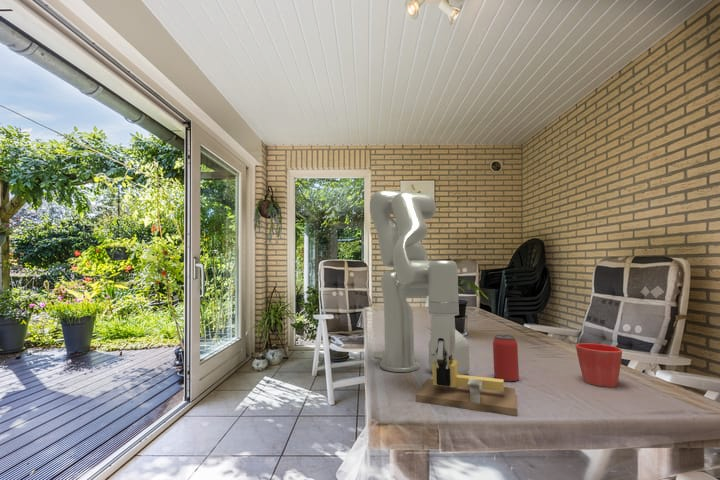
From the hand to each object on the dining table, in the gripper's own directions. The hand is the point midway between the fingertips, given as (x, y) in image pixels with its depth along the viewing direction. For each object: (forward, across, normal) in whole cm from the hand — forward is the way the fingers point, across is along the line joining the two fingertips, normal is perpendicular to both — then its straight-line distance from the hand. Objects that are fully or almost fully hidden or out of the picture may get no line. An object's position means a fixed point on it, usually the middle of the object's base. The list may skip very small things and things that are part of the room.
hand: (445, 380), depth 86 cm
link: (0, 0, +5) cm, 5 cm away
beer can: (+4, -20, +14) cm, 25 cm away
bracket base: (+3, 0, +5) cm, 6 cm away
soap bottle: (+4, -19, -2) cm, 19 cm away
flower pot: (+4, -26, +38) cm, 46 cm away
